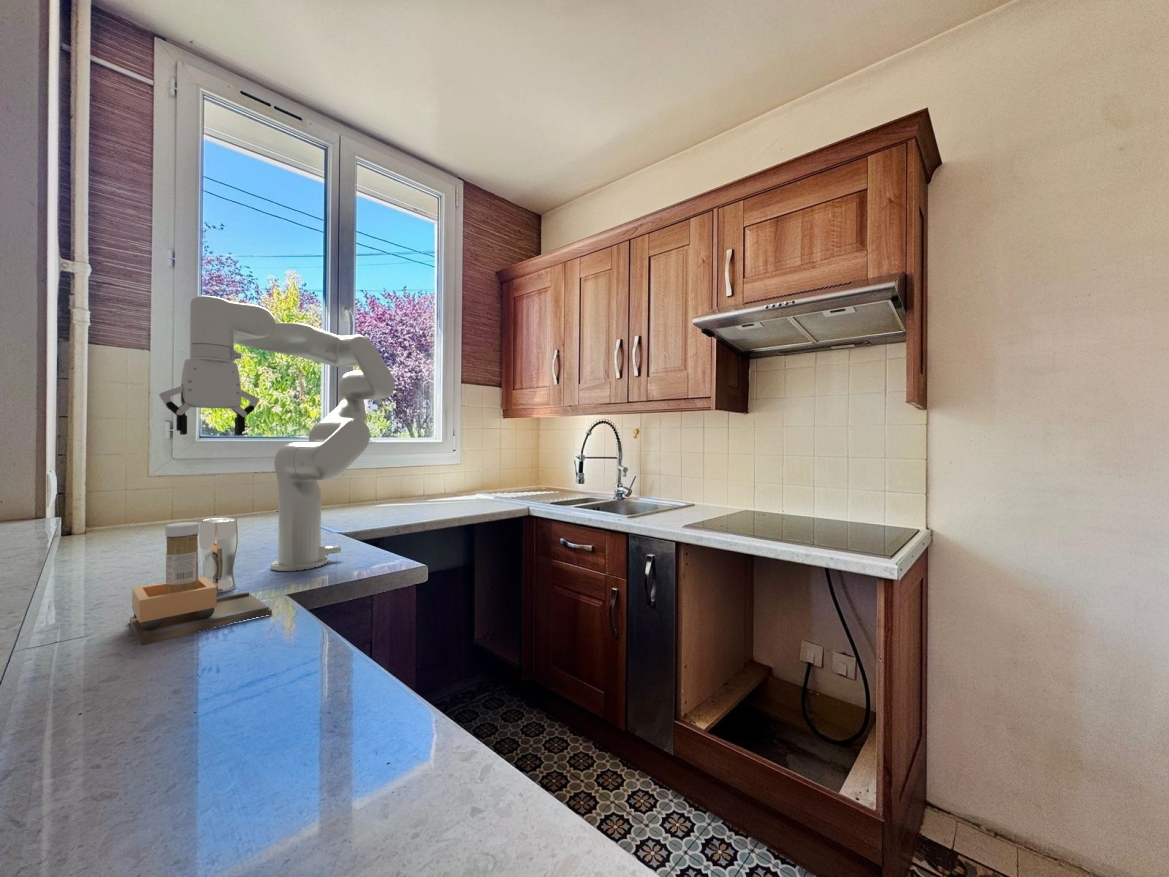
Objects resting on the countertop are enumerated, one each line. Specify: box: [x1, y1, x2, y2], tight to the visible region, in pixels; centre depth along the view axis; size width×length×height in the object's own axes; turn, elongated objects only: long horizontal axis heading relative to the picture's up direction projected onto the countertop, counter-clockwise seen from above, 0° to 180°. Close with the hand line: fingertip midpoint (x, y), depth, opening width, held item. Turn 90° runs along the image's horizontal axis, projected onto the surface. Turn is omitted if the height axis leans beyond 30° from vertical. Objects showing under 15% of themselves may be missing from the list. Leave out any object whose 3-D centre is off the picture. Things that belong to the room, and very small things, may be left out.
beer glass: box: [197, 517, 240, 594], centre depth 106 cm, size 7×7×15 cm
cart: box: [131, 575, 218, 631], centre depth 85 cm, size 10×10×5 cm
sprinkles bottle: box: [164, 521, 200, 594], centre depth 86 cm, size 5×5×14 cm
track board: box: [129, 591, 273, 646], centre depth 88 cm, size 18×14×2 cm
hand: (211, 434), depth 106 cm, fingers open, 9 cm apart
